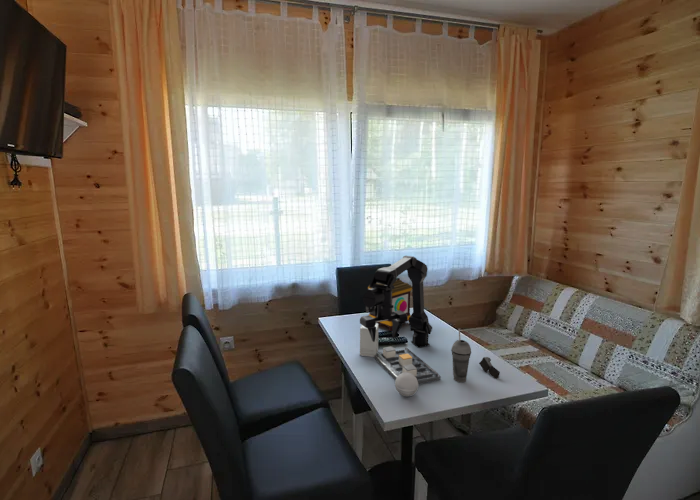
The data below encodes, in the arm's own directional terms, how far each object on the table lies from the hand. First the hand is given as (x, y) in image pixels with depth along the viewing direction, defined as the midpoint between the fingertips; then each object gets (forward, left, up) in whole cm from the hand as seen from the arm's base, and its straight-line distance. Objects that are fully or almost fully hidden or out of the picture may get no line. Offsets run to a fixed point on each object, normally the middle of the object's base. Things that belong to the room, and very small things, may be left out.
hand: (383, 339), depth 144 cm
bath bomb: (0, +20, -13) cm, 23 cm away
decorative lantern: (-25, -44, -13) cm, 52 cm away
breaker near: (-6, +11, -11) cm, 16 cm away
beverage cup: (-24, +18, -13) cm, 32 cm away
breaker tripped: (-9, +2, -11) cm, 14 cm away
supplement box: (-1, -16, -13) cm, 20 cm away
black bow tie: (-38, +17, -13) cm, 43 cm away
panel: (-9, +3, -13) cm, 15 cm away
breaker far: (-6, -6, -11) cm, 14 cm away
